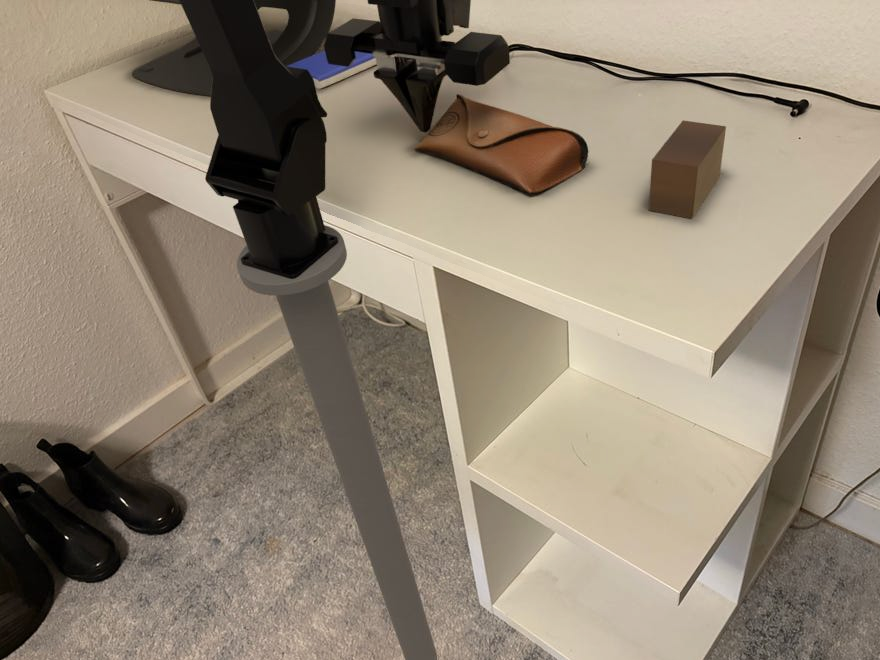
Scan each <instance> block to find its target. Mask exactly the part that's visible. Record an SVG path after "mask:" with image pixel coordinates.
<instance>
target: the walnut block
mask: <svg viewBox="0 0 880 660" xmlns="http://www.w3.org/2000/svg"><path fill="white" fill-rule="evenodd" d="M726 131H727V126H726V125H720V124H714V123H713V124H711V123H706V122H705V123H704V122H698V121H691V120H681V122H680V123H679V124H678V126H677V127H676V129H675V130H674V131H673V132H672V134H671V135H670V136H669V137H668V138H667V139H666V141H665V142H664V144H663V145H662V146H661V147H660V149H659V150H658V151H657V152H656V153H655V155H654V156H653V158H652V159H651V168H650V182H649V183H650V184H649V200H648V211H649V212H656V213H659V214H660V213H661V214H666V215H671V216H675V217H676V216H677V217H680V218H681V217H682V218H685V219H693V218H694V217H695V215H696V213H697V212H698V211H699V209H700V207H701V206H702V204H703V203H704V201H705V200H706V198H707V197H708V195H709V193H710V192H711V191H712V189H713V187H714V186H715V184H716V183H717V182H718V179H719V178H720V176H721V170H722V169H721V168H722V161H723V153H724V145H725V138H726Z"/></svg>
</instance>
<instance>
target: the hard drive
mask: <svg viewBox="0 0 880 660" xmlns="http://www.w3.org/2000/svg"><path fill="white" fill-rule="evenodd" d="M355 55H356V59H355V60H354V61H353V63H352V64H351V65H350V66H349V67H346V66H339V65H332V64H328V62H327V58H326V54H325V49H323V50H322V51H319V52H317V53H314V55H312V56H310V57H307V58H305V59H303V60H300V61H298V62H295V63H293V64H291V65H288V66H289V67H295V68H301V69H307V70H308V71H309V73H310V74H311V76H312V78H313V80H314V83H315V88H316V89H319V90H321V89H323V88H325V87H328V86H331V85H333V84H335V83H338V82H339V81H342V80H344V79H347V78H349V77H351V76H354V75H355V74H358V73H360V72H363V71H365V70H367V69H369V68H371V67H374V66H377V63H376V58H375V56H373V54H369V53H362V52H355Z"/></svg>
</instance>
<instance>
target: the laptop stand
mask: <svg viewBox="0 0 880 660" xmlns="http://www.w3.org/2000/svg"><path fill="white" fill-rule="evenodd" d="M149 1H150V2H158V3H166V4H173V5H181V3H180V1H179V0H149ZM254 3H255V5H256V8H257V10H258V11H259V10H260V9H261V8H270V9H278V10H279V9H280V10H286V12H287V14H288V15H287V16H288V19H287V23H286V25H285V28H284V30H283V31H276V30H272V31H271V30H270V31H266V34H267V36H268V39H269V42H270V44H271V47H272V50H273V52H274V54H275V56H276V57H277V59H278V60H279V61H280V62H281V63H282V64H283V65H284V66H288V65H291V64H293V63H295V62H298V61H300V60H303V59H305V58H307V57H310V56H312V55H315V54H316V52H317V51H318V50H319V48H320V47H321V46H322V45H323V43H324V42H325V39H326V36H327V33H329V32H331V29H332V24H333V22H334V17H335V12H336V11H335V10H336V4H337V0H254ZM131 76H132V77H133V78H134V79H136V80H139V81H140V82H144V83H146V84H149V85H152V86H155V87H159V88H163V89H166V90H171V91H175V92H181V93H187V94H193V95H199V96H208V97H211V89H212V78H213V76H212V72H211V69H210V67H209V64H208V62H207V60H206V58H205V56H204V54H203V51H202V49H201V47H200V45H199V43H198V40H197V38H196V37H194V38H193V39H192V40H190V41H189V42H188V43H185V44H184V45H183V46H181V47H179V48H177V49H175V50H173V51H170V52H168V53H166V54H164V55H162V56H159V57H157V58H156V59H153V60H151V61H149V62H146V63H144V64H142V65H140V66H138V67H136V68H135V69H133V70H132V71H131Z"/></svg>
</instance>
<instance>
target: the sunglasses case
mask: <svg viewBox="0 0 880 660" xmlns="http://www.w3.org/2000/svg"><path fill="white" fill-rule="evenodd" d="M455 95H456V98H455V100H454V101H453V102H452V103H451V104H450V105H449V107H448V108H447V110H446V111H444V113H443V115H442V116H441V117H440V118H439V119H438V121H437V122H436V123H435V124H434V125H433V127H431V128H430V130H429V131H428V132H427V133H426V135H425V136H424V138H423V139H422V141H421V142H420V143H419V144H418V145H414V147H413V149H414V150H416V151H419V152H423V153H427V154H430V155H433V156H436V157H439V158H442V159H445V160H447V161H449V162H452V163H454V164H457V165H459V166H462V167H464V168H467V169H469V170H471V171H474V172H476V173H478V174H481V175H482V176H485V177H487V178H489V179H491V180H495V181H497V182H499V183H501V184H504V185H507V186H509V187H511V188H514V189H517V190H520V191H523V192H526V193H528V194H537V193H541V192H544V191H545V190H549V189H551V188H554V187H556V186H558V185H559V184H561V183H563V182H565V181H566V180H568V179H570V178H572V177H573V176H576V175H577V174H579V172H582V171H583V169H584V167H585V166H586V164H587V161H588V158H589V147H588V143H587V142H586V140H585V138H584V137H583V136H582V135H580V134H579V133H578V132H575V131H573V130H571V129H567V128H564V127H559V126H552V125H549V124H547V123H544V122H542V121H539V120H536V119H533V118H531V117H527V116H524V115H522V114H518V113H516V112H512V111H509V110H506V109H502V108H499V107H496V106H493V105H489V104H486V103H482V102H478V101H476V100H472V99H470V98H467V97H465V96H464V95H462V94H458V93H457V94H455Z"/></svg>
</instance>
